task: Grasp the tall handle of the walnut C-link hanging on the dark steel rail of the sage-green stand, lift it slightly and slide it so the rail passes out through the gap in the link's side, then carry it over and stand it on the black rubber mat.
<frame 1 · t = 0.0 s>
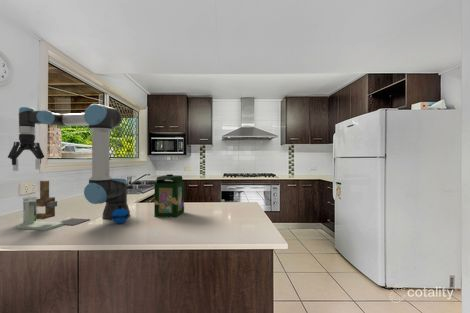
hand: (27, 170, 154), 28 cm above the countertop, fingers open, 13 cm apart
container: (169, 214, 164), on the countertop
c link: (45, 217, 135), point 5 cm above the countertop, touching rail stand
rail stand: (40, 226, 136), on the countertop
ornament: (120, 223, 143), on the countertop
syrup box: (30, 222, 144), on the countertop
mat: (72, 222, 145), on the countertop
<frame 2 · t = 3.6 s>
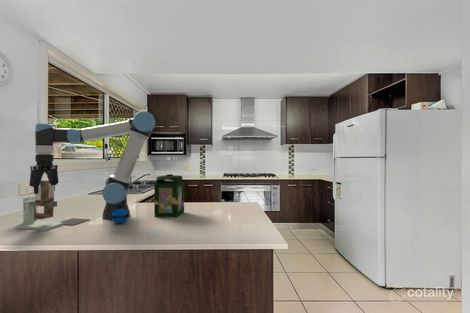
hand: (44, 198, 135), 15 cm above the countertop, fingers closed on c link, 7 cm apart
c link: (43, 217, 134), point 5 cm above the countertop, touching gripper, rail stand
everything else where it was.
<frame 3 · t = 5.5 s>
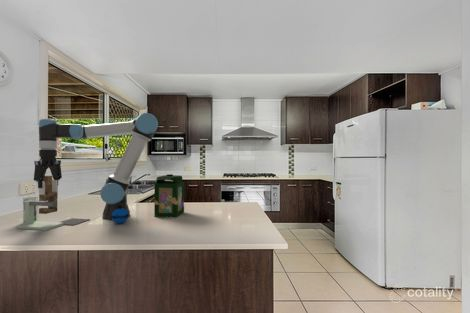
hand: (48, 193, 136), 17 cm above the countertop, fingers closed on c link, 7 cm apart
c link: (48, 212, 136), point 7 cm above the countertop, touching gripper
everything else where it was.
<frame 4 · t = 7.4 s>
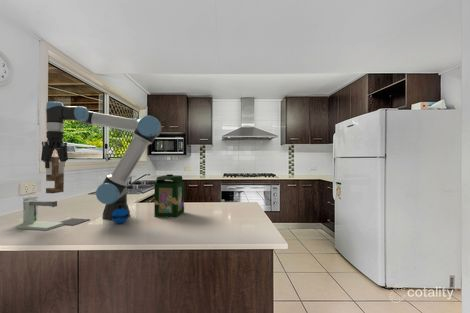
hand: (55, 173, 140), 27 cm above the countertop, fingers closed on c link, 7 cm apart
c link: (54, 192, 140), point 17 cm above the countertop, touching gripper
everything else where it was.
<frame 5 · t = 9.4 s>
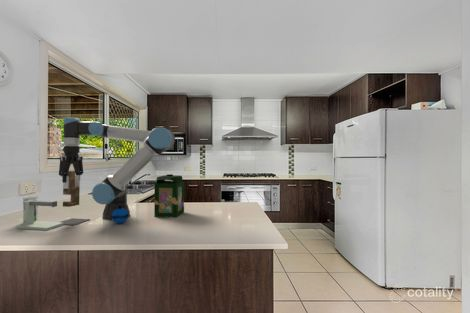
hand: (71, 187, 144), 19 cm above the countertop, fingers closed on c link, 7 cm apart
c link: (71, 205, 144), point 9 cm above the countertop, touching gripper
everything else where it was.
when the fingers open (11 cm above the countertop, at t = 11.2 s): c link stays where it is, resting on mat.
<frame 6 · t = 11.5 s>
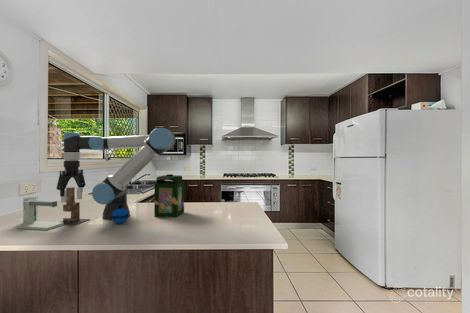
hand: (71, 200, 144), 12 cm above the countertop, fingers open, 10 cm apart
c link: (71, 221, 144), resting on mat
everything else where it was.
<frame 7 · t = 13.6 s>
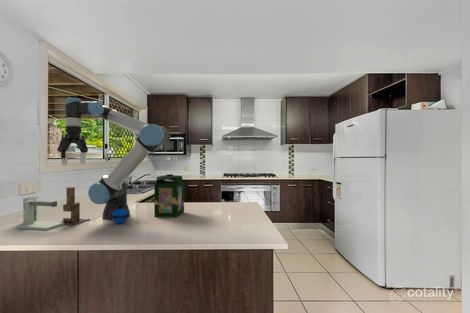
hand: (73, 164, 146), 32 cm above the countertop, fingers open, 13 cm apart
nothing on the countertop moved.
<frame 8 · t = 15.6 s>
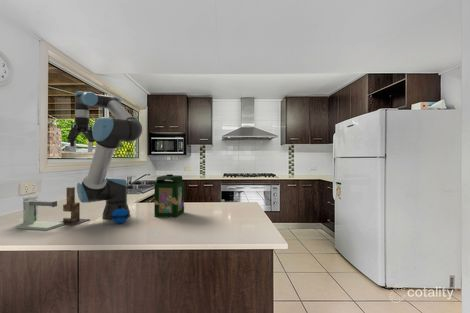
hand: (82, 152, 161), 39 cm above the countertop, fingers open, 13 cm apart
nothing on the countertop moved.
at the end: c link inside the target area on the mat (0.8 cm from its centre), point 0.4 cm above the mat's base; c link touching mat; c link tilted 0° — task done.
